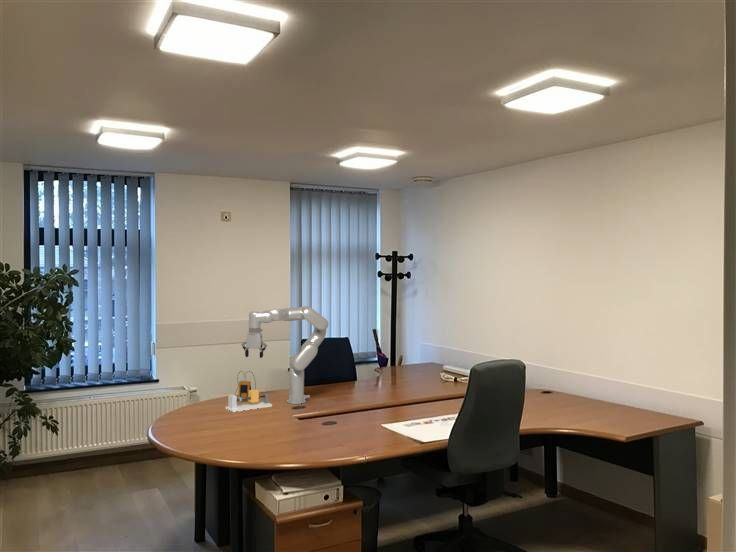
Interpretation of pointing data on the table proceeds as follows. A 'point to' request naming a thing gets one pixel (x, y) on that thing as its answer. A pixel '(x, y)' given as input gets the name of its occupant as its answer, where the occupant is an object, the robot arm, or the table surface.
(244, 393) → the multimeter
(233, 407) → the board
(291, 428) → the table surface
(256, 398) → the sleeve
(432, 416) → the table surface
